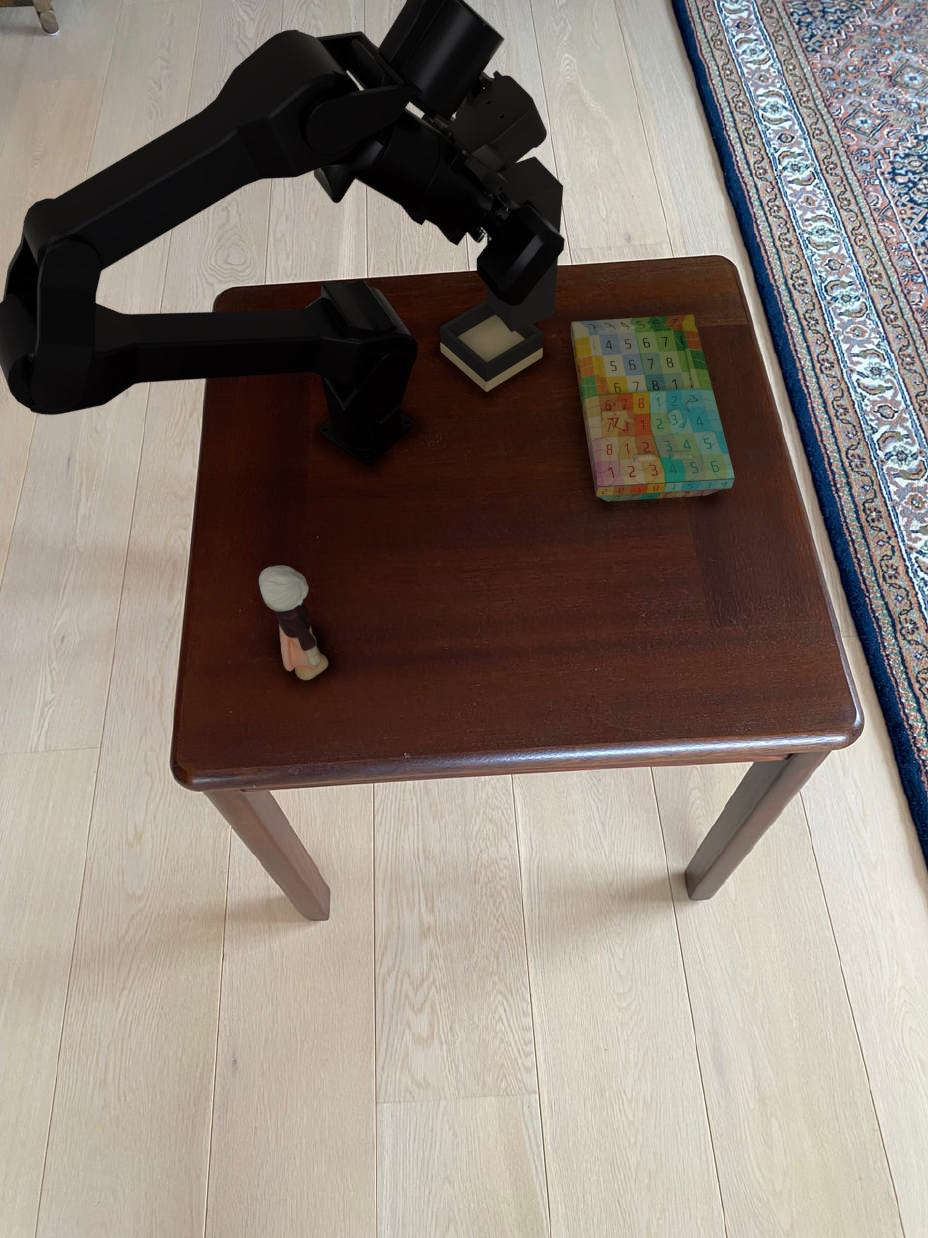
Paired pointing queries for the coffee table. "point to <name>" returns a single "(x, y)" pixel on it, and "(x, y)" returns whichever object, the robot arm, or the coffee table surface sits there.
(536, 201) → the pad block
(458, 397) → the coffee table surface
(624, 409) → the puzzle game
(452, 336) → the base pad
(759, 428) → the coffee table surface
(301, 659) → the grandmother figurine
